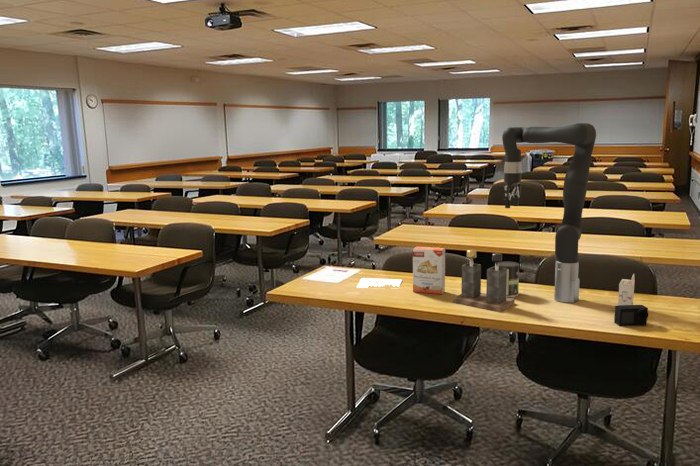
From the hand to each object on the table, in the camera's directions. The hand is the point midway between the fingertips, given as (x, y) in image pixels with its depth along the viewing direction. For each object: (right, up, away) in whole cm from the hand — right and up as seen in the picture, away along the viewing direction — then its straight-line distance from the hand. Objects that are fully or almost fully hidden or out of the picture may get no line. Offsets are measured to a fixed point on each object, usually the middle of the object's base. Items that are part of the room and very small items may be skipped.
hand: (511, 207), depth 260 cm
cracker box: (-38, -40, +2) cm, 55 cm away
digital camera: (+32, -47, -47) cm, 73 cm away
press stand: (-17, -42, -16) cm, 48 cm away
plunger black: (-13, -39, -21) cm, 46 cm away
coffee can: (-4, -40, -4) cm, 40 cm away
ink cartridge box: (+38, -43, -30) cm, 65 cm away
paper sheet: (-61, -39, +13) cm, 74 cm away
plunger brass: (-22, -38, -13) cm, 45 cm away
